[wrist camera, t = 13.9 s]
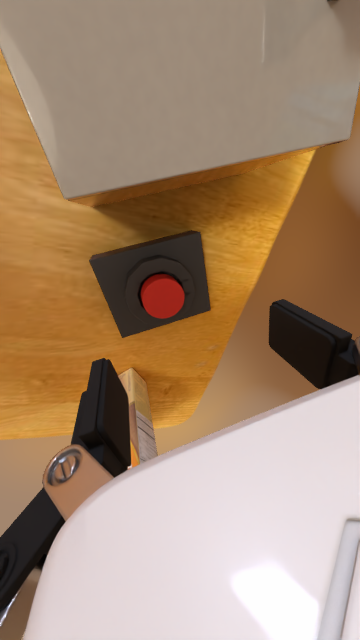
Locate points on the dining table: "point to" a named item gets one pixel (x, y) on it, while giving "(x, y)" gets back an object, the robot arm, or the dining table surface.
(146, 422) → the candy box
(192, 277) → the switch block
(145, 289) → the button
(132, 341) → the dining table surface
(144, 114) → the grey box lid
